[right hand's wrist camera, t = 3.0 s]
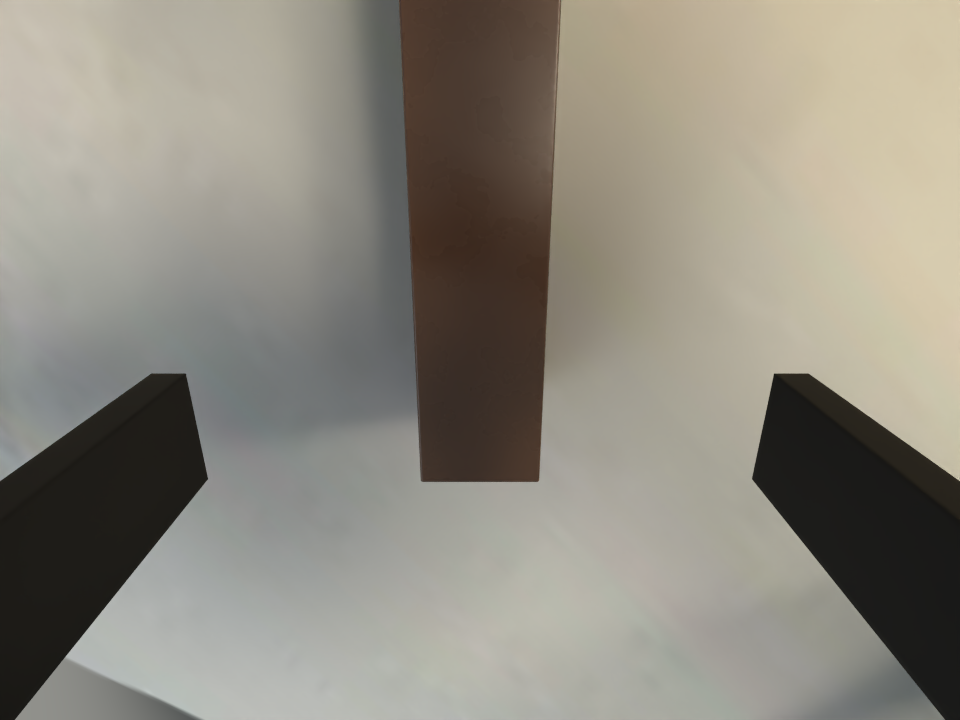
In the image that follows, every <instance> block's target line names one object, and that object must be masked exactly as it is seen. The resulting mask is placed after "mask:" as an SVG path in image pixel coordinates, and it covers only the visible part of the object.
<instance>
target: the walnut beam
mask: <svg viewBox="0 0 960 720" xmlns="http://www.w3.org/2000/svg"><path fill="white" fill-rule="evenodd" d="M399 13H400V35H401V57H402V79H403V101H404V123H405V145H406V166H407V188H408V210H409V232H410V254H411V276H412V297H413V319H414V341H415V363H416V385H417V407H418V429H419V450H420V472H421V481H422V482H538V481H539V472H540V450H541V429H542V407H543V385H544V363H545V341H546V319H547V297H548V276H549V254H550V232H551V210H552V188H553V166H554V145H555V123H556V101H557V79H558V57H559V35H560V14H561V0H399Z"/></svg>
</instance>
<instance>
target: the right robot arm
mask: <svg viewBox="0 0 960 720" xmlns="http://www.w3.org/2000/svg"><path fill="white" fill-rule="evenodd" d="M207 480H208V477H207V472H206V467H205V463H204V458H203V453H202V448H201V444H200V439H199V434H198V429H197V425H196V420H195V415H194V410H193V406H192V401H191V396H190V391H189V387H188V382H187V377H186V374H150V375H149V376H148V377H146V378H145V379H143V380H142V381H140V382H139V383H138V384H136V385H135V386H133V387H132V388H131V389H129V390H128V391H126V392H125V393H124V394H122V395H121V396H119V397H118V398H117V399H115V400H114V401H112V402H111V403H110V404H108V405H107V406H105V407H104V408H103V409H101V410H100V411H98V412H97V413H96V414H94V415H93V416H91V417H90V418H88V419H87V420H86V421H84V422H83V423H81V424H80V425H79V426H77V427H76V428H74V429H73V430H72V431H70V432H69V433H67V434H66V435H65V436H63V437H62V438H60V439H59V440H58V441H56V442H55V443H53V444H52V445H51V446H49V447H48V448H46V449H45V450H44V451H42V452H41V453H39V454H38V455H36V456H35V457H34V458H32V459H31V460H29V461H28V462H27V463H25V464H24V465H22V466H21V467H20V468H18V469H17V470H15V471H14V472H13V473H11V474H10V475H8V476H7V477H6V478H4V479H3V480H1V481H0V720H15V719H16V718H17V716H18V715H19V714H20V713H21V711H22V710H23V709H24V708H25V706H26V705H27V704H28V703H29V701H30V700H31V699H32V698H33V696H34V695H35V694H36V693H37V691H38V690H39V689H40V688H41V686H42V685H43V684H44V683H45V681H46V680H47V679H48V678H49V676H50V675H51V674H52V673H53V671H54V670H55V669H56V668H57V666H58V665H59V664H60V663H61V661H62V660H63V659H64V658H65V656H66V655H67V654H68V653H69V652H70V650H71V649H72V648H73V647H74V645H75V644H76V643H77V642H78V640H79V639H80V638H81V637H82V635H83V634H84V633H85V632H86V630H87V629H88V628H89V627H90V625H91V624H92V623H93V622H94V620H95V619H96V618H97V617H98V615H99V614H100V613H101V612H102V610H103V609H104V608H105V607H106V605H107V604H108V603H109V602H110V600H111V599H112V598H113V597H114V595H115V594H116V593H117V592H118V590H119V589H120V588H121V587H122V585H123V584H124V583H125V582H126V580H127V579H128V578H129V577H130V575H131V574H132V573H133V572H134V570H135V569H136V568H137V567H138V566H139V564H140V563H141V562H142V561H143V559H144V558H145V557H146V556H147V554H148V553H149V552H150V551H151V549H152V548H153V547H154V546H155V544H156V543H157V542H158V541H159V539H160V538H161V537H162V536H163V534H164V533H165V532H166V531H167V529H168V528H169V527H170V526H171V524H172V523H173V522H174V521H175V519H176V518H177V517H178V516H179V514H180V513H181V512H182V511H183V509H184V508H185V507H186V506H187V504H188V503H189V502H190V501H191V499H192V498H193V497H194V496H195V494H196V493H197V492H198V491H199V489H200V488H201V487H202V486H203V485H204V483H205V482H206V481H207ZM752 480H753V481H754V482H755V483H756V485H757V486H758V487H759V488H760V489H761V491H762V492H763V493H764V494H765V496H766V497H767V498H768V499H769V501H770V502H771V503H772V504H773V506H774V507H775V508H776V509H777V511H778V512H779V513H780V514H781V516H782V517H783V518H784V519H785V521H786V522H787V523H788V524H789V526H790V527H791V528H792V529H793V531H794V532H795V533H796V534H797V536H798V537H799V538H800V539H801V541H802V542H803V543H804V544H805V546H806V547H807V548H808V549H809V551H810V552H811V553H812V554H813V556H814V557H815V558H816V559H817V561H818V562H819V563H820V564H821V566H822V567H823V568H824V569H825V571H826V572H827V573H828V574H829V575H830V577H831V578H832V579H833V580H834V582H835V583H836V584H837V585H838V587H839V588H840V589H841V590H842V592H843V593H844V594H845V595H846V597H847V598H848V599H849V600H850V602H851V603H852V604H853V605H854V607H855V608H856V609H857V610H858V612H859V613H860V614H861V615H862V617H863V618H864V619H865V620H866V622H867V623H868V624H869V625H870V627H871V628H872V629H873V630H874V632H875V633H876V634H877V635H878V637H879V638H880V639H881V640H882V642H883V643H884V644H885V645H886V647H887V648H888V649H889V650H890V652H891V653H892V654H893V655H894V656H895V658H896V659H897V660H898V661H899V663H900V664H901V665H902V666H903V668H904V669H905V670H906V671H907V673H908V674H909V675H910V676H911V678H912V679H913V680H914V681H915V683H916V684H917V685H918V686H919V688H920V689H921V690H922V691H923V693H924V694H925V695H926V696H927V698H928V699H929V700H930V701H931V703H932V704H933V705H934V706H935V708H936V709H937V710H938V711H939V713H940V714H941V715H942V716H943V718H944V719H945V720H960V481H959V480H957V479H956V478H954V477H953V476H952V475H950V474H949V473H947V472H946V471H945V470H943V469H942V468H940V467H939V466H938V465H936V464H935V463H933V462H932V461H931V460H929V459H928V458H926V457H925V456H924V455H922V454H921V453H919V452H918V451H916V450H915V449H914V448H912V447H911V446H909V445H908V444H907V443H905V442H904V441H902V440H901V439H900V438H898V437H897V436H895V435H894V434H893V433H891V432H890V431H888V430H887V429H886V428H884V427H883V426H881V425H880V424H879V423H877V422H876V421H874V420H873V419H872V418H870V417H869V416H867V415H866V414H864V413H863V412H862V411H860V410H859V409H857V408H856V407H855V406H853V405H852V404H850V403H849V402H848V401H846V400H845V399H843V398H842V397H841V396H839V395H838V394H836V393H835V392H834V391H832V390H831V389H829V388H828V387H827V386H825V385H824V384H822V383H821V382H820V381H818V380H817V379H815V378H814V377H812V376H811V375H810V374H774V377H773V382H772V387H771V391H770V396H769V401H768V406H767V410H766V415H765V420H764V425H763V429H762V434H761V439H760V444H759V448H758V453H757V458H756V463H755V467H754V472H753V477H752Z"/></svg>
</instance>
